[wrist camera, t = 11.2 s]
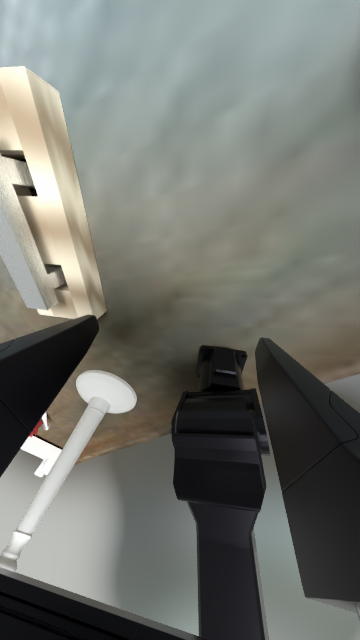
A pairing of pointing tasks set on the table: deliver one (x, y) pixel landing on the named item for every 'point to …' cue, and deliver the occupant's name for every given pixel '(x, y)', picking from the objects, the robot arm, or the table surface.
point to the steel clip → (24, 241)
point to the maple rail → (50, 189)
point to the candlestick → (71, 450)
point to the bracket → (42, 453)
